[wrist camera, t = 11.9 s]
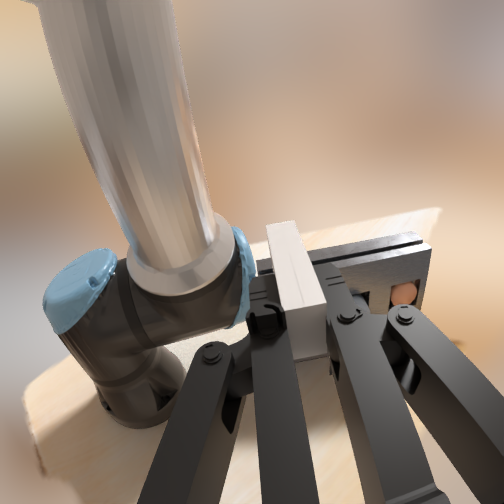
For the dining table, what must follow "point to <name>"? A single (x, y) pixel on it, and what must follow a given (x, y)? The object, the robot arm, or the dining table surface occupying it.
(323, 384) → the dining table surface
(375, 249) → the button panel
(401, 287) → the terracotta button
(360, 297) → the grey dome button
